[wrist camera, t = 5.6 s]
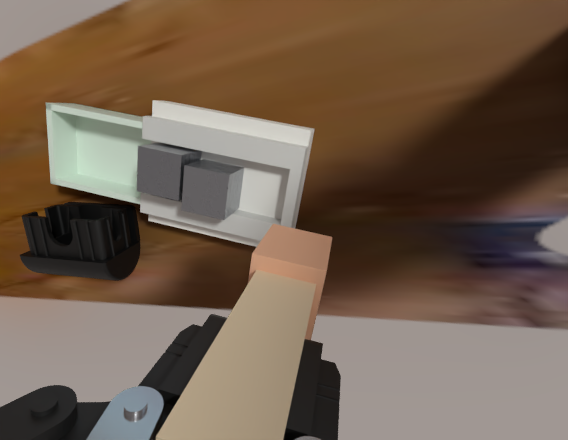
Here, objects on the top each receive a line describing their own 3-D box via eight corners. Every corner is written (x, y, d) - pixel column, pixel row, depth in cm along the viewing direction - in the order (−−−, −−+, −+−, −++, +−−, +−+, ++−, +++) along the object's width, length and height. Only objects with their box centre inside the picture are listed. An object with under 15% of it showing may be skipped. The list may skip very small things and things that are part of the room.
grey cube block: (244, 167, 32) (229, 175, 28) (239, 207, 33) (224, 220, 29) (204, 159, 32) (184, 165, 29) (200, 199, 34) (181, 210, 30)
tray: (165, 121, 35) (145, 122, 31) (161, 196, 37) (143, 205, 34) (73, 103, 36) (45, 102, 33) (76, 177, 39) (50, 183, 35)
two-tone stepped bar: (332, 236, 18) (295, 454, 7) (317, 302, 19) (265, 575, 8) (273, 223, 18) (143, 407, 7) (262, 288, 20) (139, 530, 8)
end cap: (74, 256, 42) (25, 282, 36) (63, 201, 40) (8, 218, 34) (147, 263, 40) (109, 291, 34) (139, 205, 38) (96, 224, 32)
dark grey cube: (201, 149, 32) (181, 155, 28) (198, 190, 34) (178, 200, 30) (162, 141, 33) (137, 145, 29) (160, 182, 34) (136, 191, 30)
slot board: (314, 128, 32) (308, 131, 28) (292, 245, 36) (284, 260, 32) (166, 101, 34) (143, 99, 30) (161, 213, 38) (139, 225, 34)
